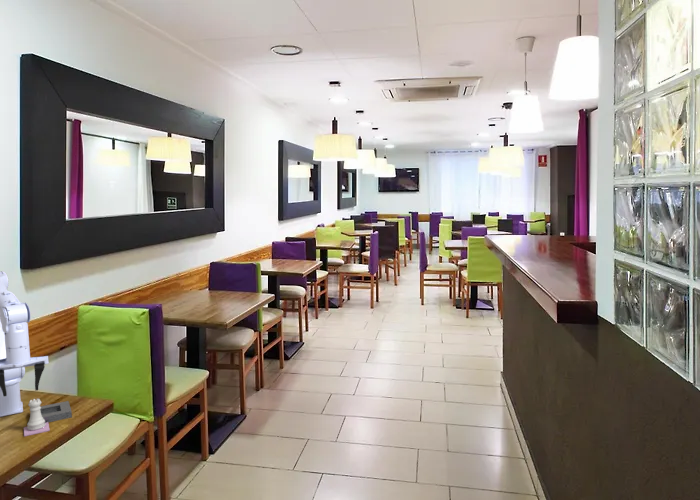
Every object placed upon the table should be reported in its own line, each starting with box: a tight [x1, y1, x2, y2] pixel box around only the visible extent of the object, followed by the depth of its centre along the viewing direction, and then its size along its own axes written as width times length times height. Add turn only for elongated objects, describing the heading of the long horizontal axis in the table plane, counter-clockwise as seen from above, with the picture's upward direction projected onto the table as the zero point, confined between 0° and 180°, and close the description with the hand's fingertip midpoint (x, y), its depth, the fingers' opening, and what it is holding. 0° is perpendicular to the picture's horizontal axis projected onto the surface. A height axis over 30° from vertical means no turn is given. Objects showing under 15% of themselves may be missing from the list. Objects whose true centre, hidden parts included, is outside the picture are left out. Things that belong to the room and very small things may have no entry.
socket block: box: [40, 400, 73, 423], centre depth 153 cm, size 10×10×2 cm
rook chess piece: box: [26, 398, 46, 431], centre depth 144 cm, size 4×4×8 cm
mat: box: [23, 422, 50, 437], centre depth 144 cm, size 6×6×1 cm
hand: (21, 392), depth 147 cm, fingers open, 7 cm apart
